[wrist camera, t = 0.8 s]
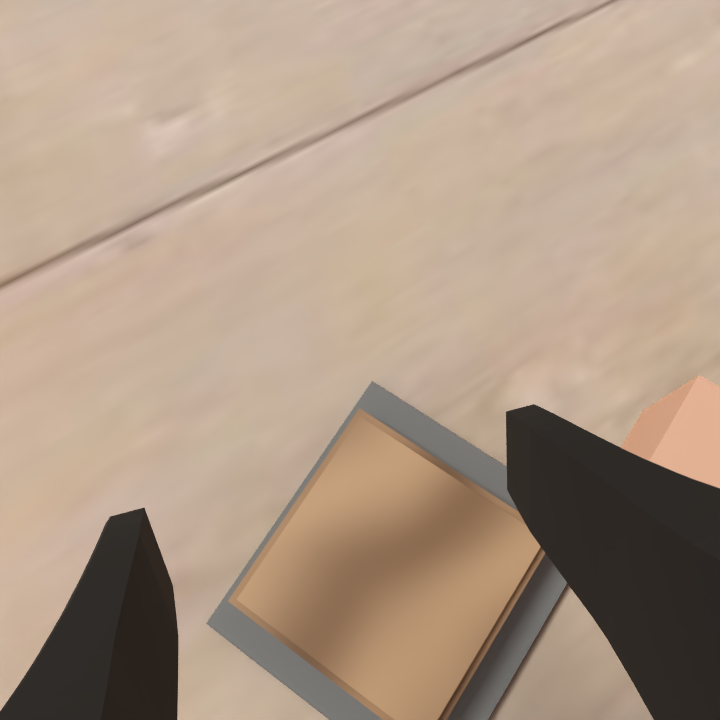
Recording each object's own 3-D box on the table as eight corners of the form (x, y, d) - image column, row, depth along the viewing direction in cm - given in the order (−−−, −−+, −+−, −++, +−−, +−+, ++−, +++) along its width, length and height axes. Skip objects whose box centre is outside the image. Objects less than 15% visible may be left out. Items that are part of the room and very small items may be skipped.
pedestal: (546, 537, 28) (557, 535, 25) (425, 738, 26) (426, 755, 24) (363, 417, 30) (359, 406, 27) (240, 597, 28) (225, 601, 26)
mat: (597, 526, 28) (600, 526, 27) (438, 801, 25) (438, 804, 25) (372, 383, 30) (372, 381, 30) (209, 622, 28) (206, 623, 27)
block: (743, 470, 28) (828, 448, 22) (691, 565, 27) (765, 567, 21) (642, 411, 29) (698, 375, 23) (589, 500, 28) (634, 486, 22)
